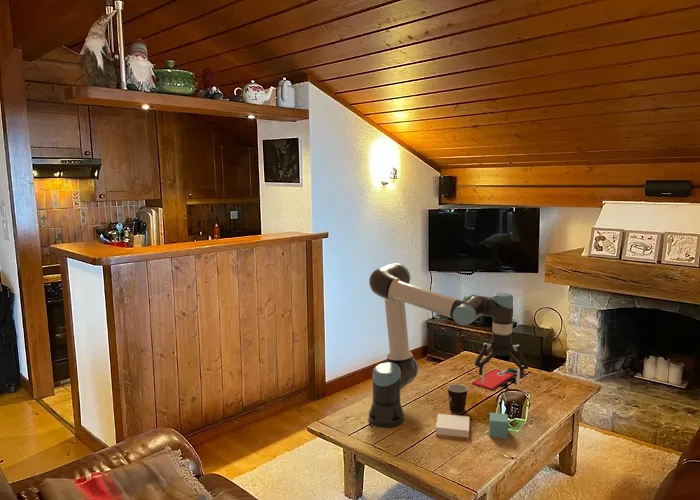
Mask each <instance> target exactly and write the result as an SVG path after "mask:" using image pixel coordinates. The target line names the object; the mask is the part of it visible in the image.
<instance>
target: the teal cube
mask: <svg viewBox="0 0 700 500" xmlns="http://www.w3.org/2000/svg"><path fill="white" fill-rule="evenodd" d="M508 417H509V416H508V414H507V413H498V412H489V419H488V421H489V423H488V424H489V425H488V429H489V431H488V432H489V433H488V434H489V435H488V436H489V437H490V438H497V439H505V440H506V439H509V418H508Z"/></svg>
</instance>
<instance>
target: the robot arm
mask: <svg viewBox="0 0 700 500" xmlns="http://www.w3.org/2000/svg"><path fill="white" fill-rule="evenodd" d="M410 282H411V273H410V271H409V269H408V268H407V267H406V266H405V265H403V264H401V263H398V262H397V263H396V262H394V263H389V264H387V265H384V266H382V267H377V269H375V270H373V271H372V273H371V274H370V277H369V282H368V283H369V287H370V290H371V291H372V293H374V294H375V295H377V296H379V297H381V298H382V299H384V306H385V315H386V317H385V318H386V328H387V336H388V337H387V338H388V346H389V347H388V350H389V353H387V354H386V362H381V363H378V364H377V365H376V366H374V368H373V371H372V375H371V376H372V380H371V381H372V403H371V406H370V408H369V412H368V420H369V422H370V423H371V425H374V426H376V427H380V428H394V427H398V426H401V425H402V424H403V423H404V422H405V412H404V409H403V406H402V404H401V390H402V389H404V387H407V385H409V384H411V383H412V382H413V381H414V380H415V379H416V377H417V376H418V374H419V365H418V364H419V363H418V362H417V360H416V359H415V357H414V355H413V354H414V353H412V351H410V347H409V335H408V334H409V333H408V326H407V325H408V323H407V312H406V304H408V305H411V306H415V307H418V308H420V309H424V310H427V311H430V312H432V313H436V314H439V315H442V316H444V317H448V318H450V319H453V320H454V322H455V323H456V324H457V325H460V326H468V325H470V324H472V323H473V322H474V321H475V320H476V319H478V318H480V317H481V316H483V317H491V318H492V332H491V333H492V334H491V343H488V342H486V341H485V342H484V343H483V346H482V349H481V351H480V353H478V356H477V358H476V360H475V361H474V366H475V367H478V374H479V376H481V377H482V384H484V375H485V365H487V363H488V362H489V361H490V360H491V359H493V358H494V357H495V356H497V357H500V356H502V357H507V356H508V357H509V358H510V360H512V362H513V363H514V364H515V366H516V367H517V369H516V370H517V375H516V386H517V387H520V386H521V385H520V384H521V383H520V381H521V379H522V378H523V377H524V375H523V374H524V372H523V371H524V370H528V369H529V365H528V364H527V361H526V359H525V356H524V355H523V353H522V351H521V346H520V344H518V343H516V344H513V334H512V333H513V324H514V323H513V320H514V319H513V318H514V306H515V305H514V297H513V295H512V294H511V293H508V292H495V293H494V294H493V296H492V297H489V296H484V295H483V296H482V295H476V294H465V295H464V297H463V298H462V300H460V299H457V298H454V297H451V296H447V295H445V294H442V293H439V292H435V291H433V290H429V289H426V288H423V287H420V286H417V285H413V284H410ZM489 349H491V351H490V352H489V353H488V354H487V355H486V356H485V354H486V352H487V350H489ZM513 350H514V351H516V353H517V354H518V356H519V357H518V358H519V359H520V361H521V362H520V361H519V360H518V359H517V358H516V356H515V354H513V353H512V351H513ZM484 356H485V357H484ZM483 357H484V358H483ZM521 363H522V364H521Z"/></svg>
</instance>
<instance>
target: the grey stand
mask: <svg viewBox="0 0 700 500" xmlns="http://www.w3.org/2000/svg"><path fill="white" fill-rule="evenodd" d="M435 435H437V436H438V435H439V436H450V437H459V438H468V439H469V438H470V416H467V415H466V416H465V415H456V414H446V413H445V414H444V413H437V419H436V424H435Z"/></svg>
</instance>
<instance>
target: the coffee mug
mask: <svg viewBox="0 0 700 500" xmlns="http://www.w3.org/2000/svg"><path fill="white" fill-rule="evenodd" d="M447 395H448V404H449V410H450V411H451V412H453V413H459V414H461V413H464V412H465V410H466V409H465V408H466V402H467V395H468V387H467V386H466V385H464V384H459V383H452V384H449V385H448V386H447Z"/></svg>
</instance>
